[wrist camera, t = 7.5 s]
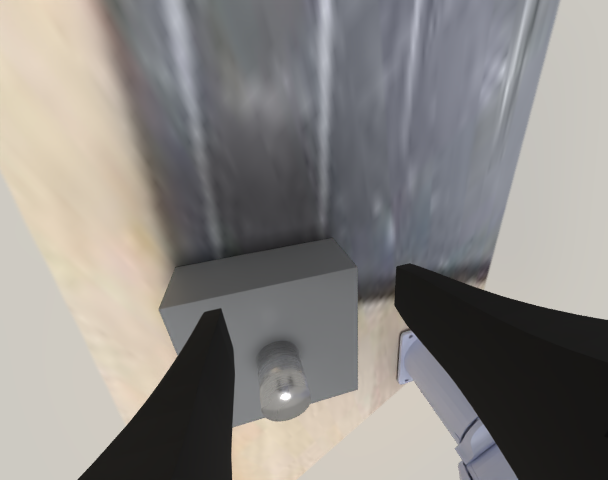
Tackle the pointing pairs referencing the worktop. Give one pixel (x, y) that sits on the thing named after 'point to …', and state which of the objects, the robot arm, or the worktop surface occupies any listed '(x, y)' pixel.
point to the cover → (276, 324)
